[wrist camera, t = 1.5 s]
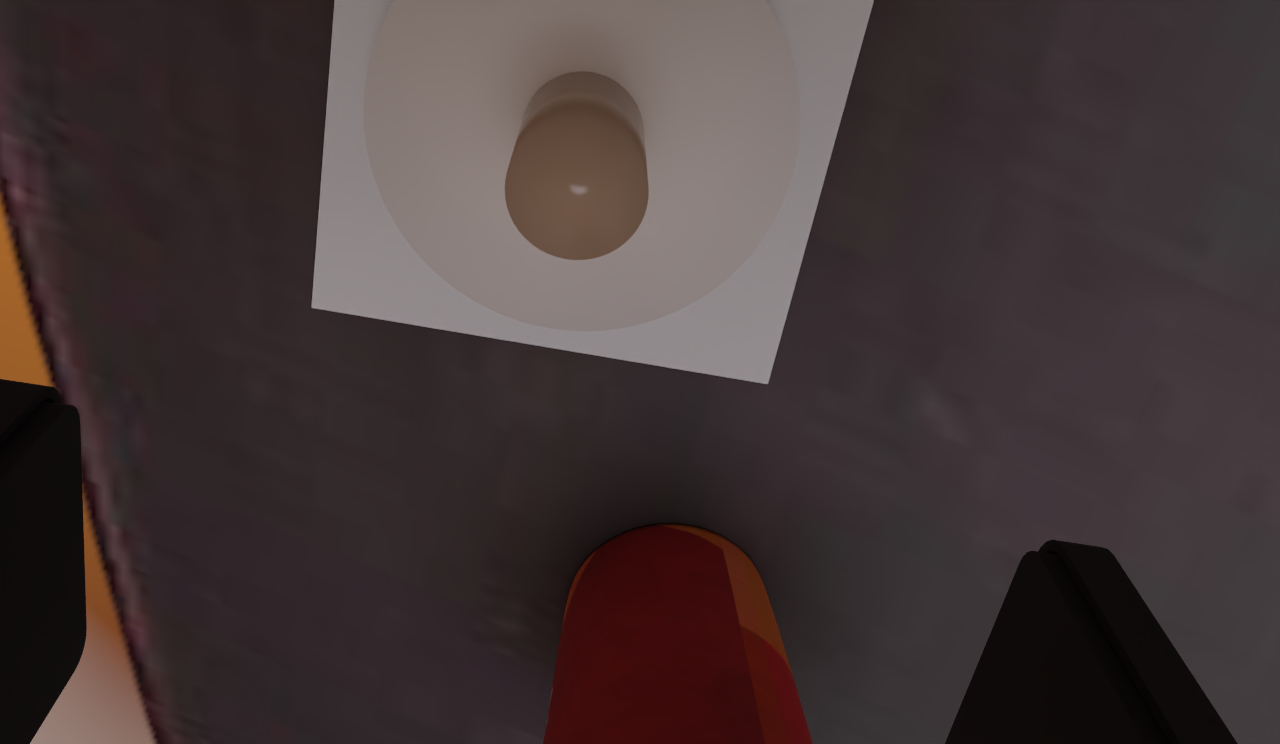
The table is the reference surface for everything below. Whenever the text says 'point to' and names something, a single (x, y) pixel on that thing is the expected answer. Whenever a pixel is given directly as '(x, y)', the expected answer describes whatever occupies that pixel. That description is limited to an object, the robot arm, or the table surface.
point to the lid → (582, 148)
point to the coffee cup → (671, 647)
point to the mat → (687, 339)
